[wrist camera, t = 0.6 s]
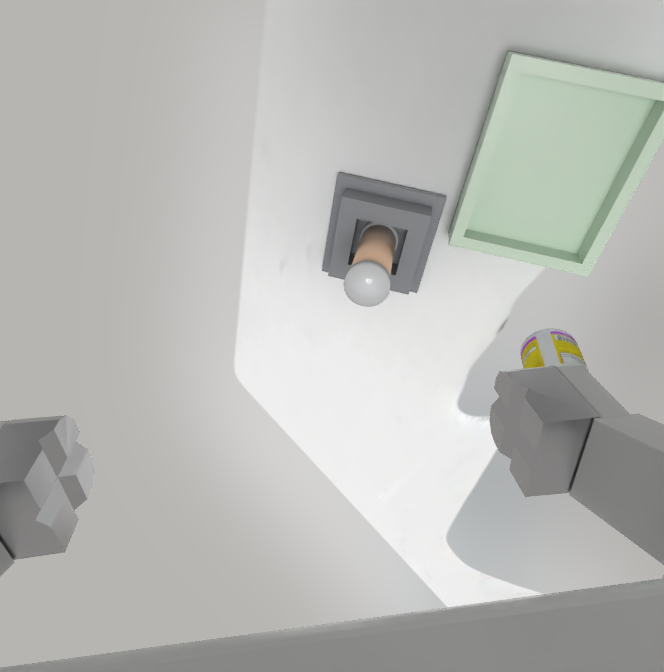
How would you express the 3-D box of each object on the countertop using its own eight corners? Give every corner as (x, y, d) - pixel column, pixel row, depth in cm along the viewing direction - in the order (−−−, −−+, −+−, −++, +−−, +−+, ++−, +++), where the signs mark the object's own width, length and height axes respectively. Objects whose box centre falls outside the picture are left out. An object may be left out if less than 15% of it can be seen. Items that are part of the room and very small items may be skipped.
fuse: (364, 215, 53) (348, 261, 44) (402, 223, 53) (394, 271, 43) (357, 250, 56) (340, 300, 46) (393, 258, 56) (384, 311, 46)
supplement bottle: (525, 373, 62) (542, 446, 52) (514, 333, 59) (530, 402, 49) (580, 362, 60) (610, 436, 50) (572, 320, 57) (601, 390, 47)
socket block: (339, 172, 52) (332, 182, 49) (446, 195, 51) (446, 208, 48) (323, 267, 59) (316, 282, 56) (417, 289, 58) (415, 305, 55)
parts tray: (507, 50, 43) (512, 53, 40) (674, 83, 42) (690, 89, 39) (448, 232, 54) (448, 244, 51) (580, 261, 53) (588, 276, 50)
